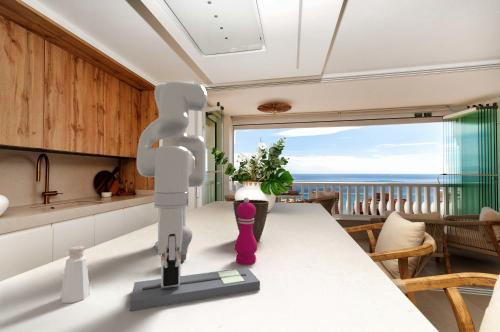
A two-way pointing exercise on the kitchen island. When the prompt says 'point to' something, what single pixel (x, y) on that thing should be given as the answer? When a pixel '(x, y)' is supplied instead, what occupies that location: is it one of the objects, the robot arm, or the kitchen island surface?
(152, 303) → the fader panel
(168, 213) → the robot arm
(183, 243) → the lightbulb
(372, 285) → the kitchen island surface
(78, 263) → the pepper shaker
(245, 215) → the pepper mill
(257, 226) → the plant pot
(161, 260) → the fader knob
